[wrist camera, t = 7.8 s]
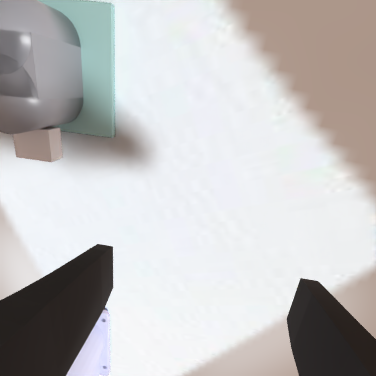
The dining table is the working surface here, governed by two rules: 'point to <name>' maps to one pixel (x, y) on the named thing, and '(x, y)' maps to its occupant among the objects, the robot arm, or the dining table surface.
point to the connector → (38, 77)
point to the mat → (93, 65)
